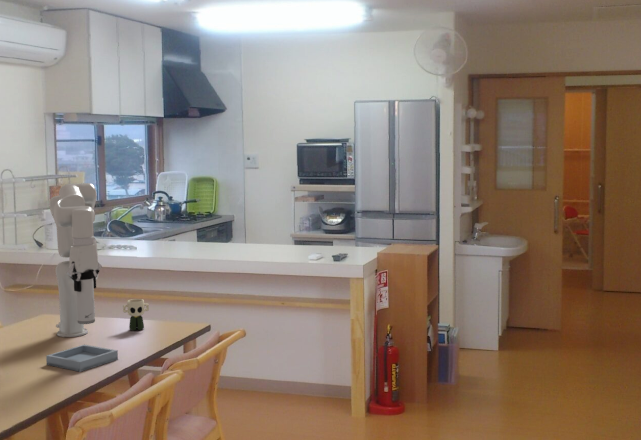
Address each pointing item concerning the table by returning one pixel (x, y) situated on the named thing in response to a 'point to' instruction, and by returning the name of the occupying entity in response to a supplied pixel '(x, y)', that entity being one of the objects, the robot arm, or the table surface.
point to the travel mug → (86, 299)
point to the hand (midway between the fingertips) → (85, 289)
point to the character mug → (136, 313)
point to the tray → (82, 357)
